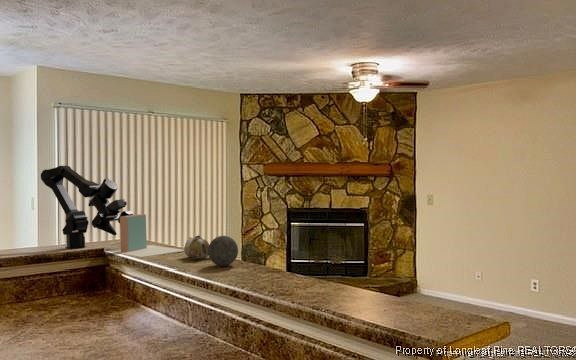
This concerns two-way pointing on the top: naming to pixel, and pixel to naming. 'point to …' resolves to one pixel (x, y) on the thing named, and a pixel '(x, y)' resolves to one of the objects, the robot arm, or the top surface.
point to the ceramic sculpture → (196, 248)
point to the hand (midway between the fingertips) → (124, 233)
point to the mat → (150, 251)
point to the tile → (133, 232)
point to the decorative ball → (223, 250)
